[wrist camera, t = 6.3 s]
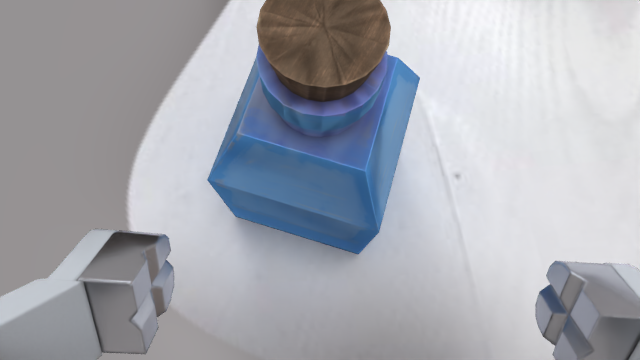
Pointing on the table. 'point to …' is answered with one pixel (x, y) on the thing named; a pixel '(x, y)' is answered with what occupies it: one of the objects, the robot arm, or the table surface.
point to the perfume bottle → (318, 123)
